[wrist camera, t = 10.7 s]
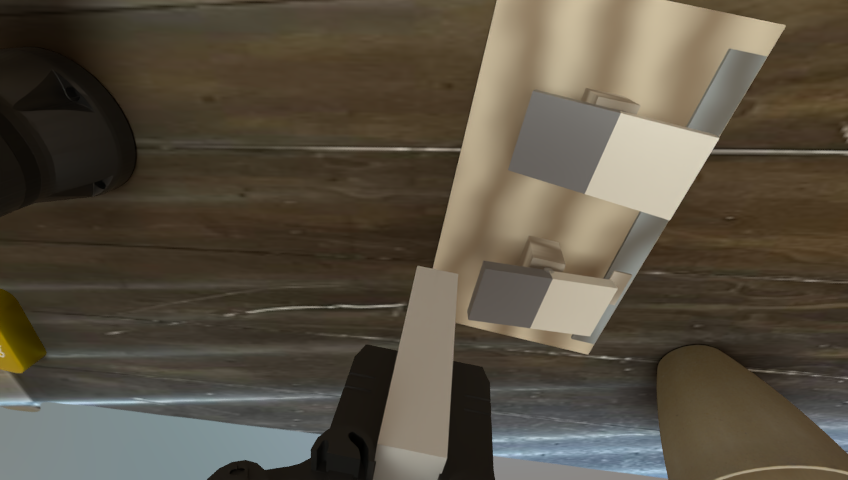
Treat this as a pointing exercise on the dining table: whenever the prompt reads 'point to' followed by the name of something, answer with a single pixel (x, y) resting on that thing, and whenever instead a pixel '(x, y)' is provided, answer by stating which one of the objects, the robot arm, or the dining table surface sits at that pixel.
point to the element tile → (17, 337)
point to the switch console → (598, 84)
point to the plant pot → (735, 424)
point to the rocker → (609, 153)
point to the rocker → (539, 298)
